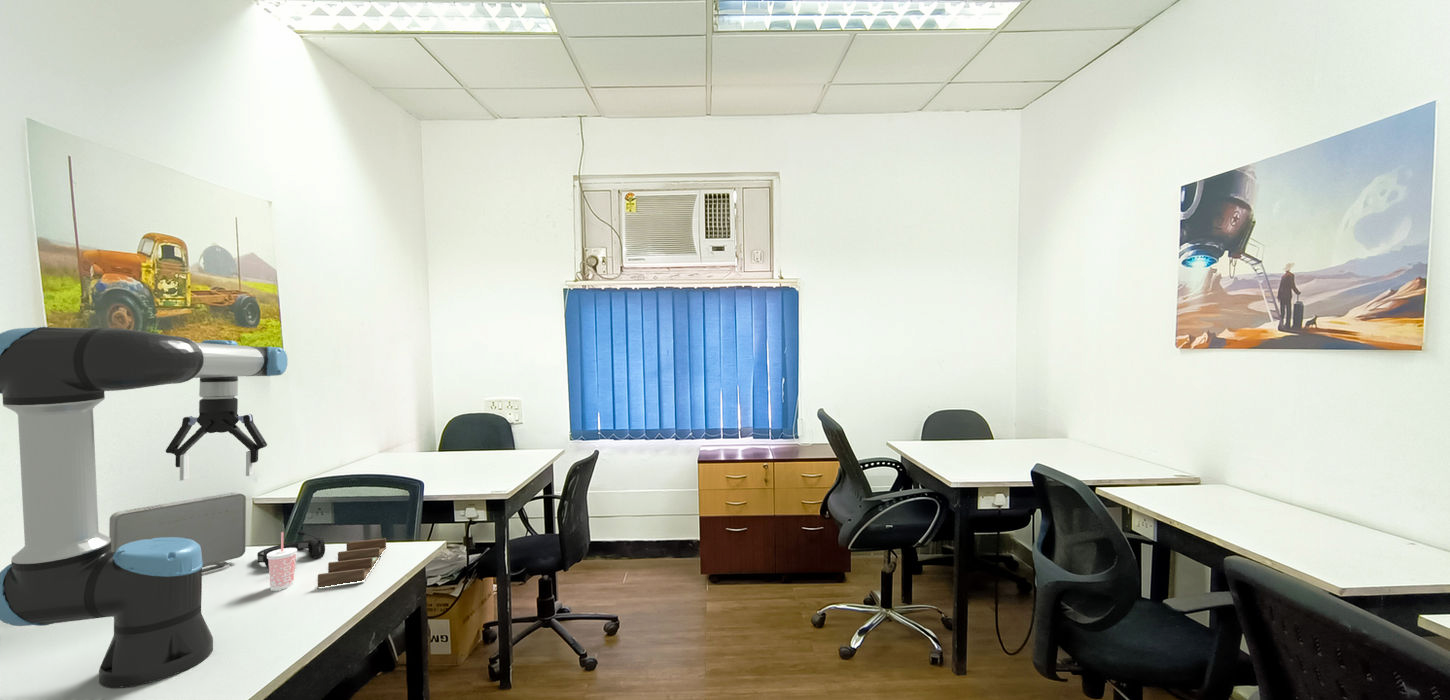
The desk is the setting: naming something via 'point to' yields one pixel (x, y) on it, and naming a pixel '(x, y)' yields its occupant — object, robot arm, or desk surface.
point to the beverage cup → (281, 567)
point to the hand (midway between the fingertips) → (217, 477)
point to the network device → (189, 526)
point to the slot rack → (353, 562)
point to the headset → (314, 548)
